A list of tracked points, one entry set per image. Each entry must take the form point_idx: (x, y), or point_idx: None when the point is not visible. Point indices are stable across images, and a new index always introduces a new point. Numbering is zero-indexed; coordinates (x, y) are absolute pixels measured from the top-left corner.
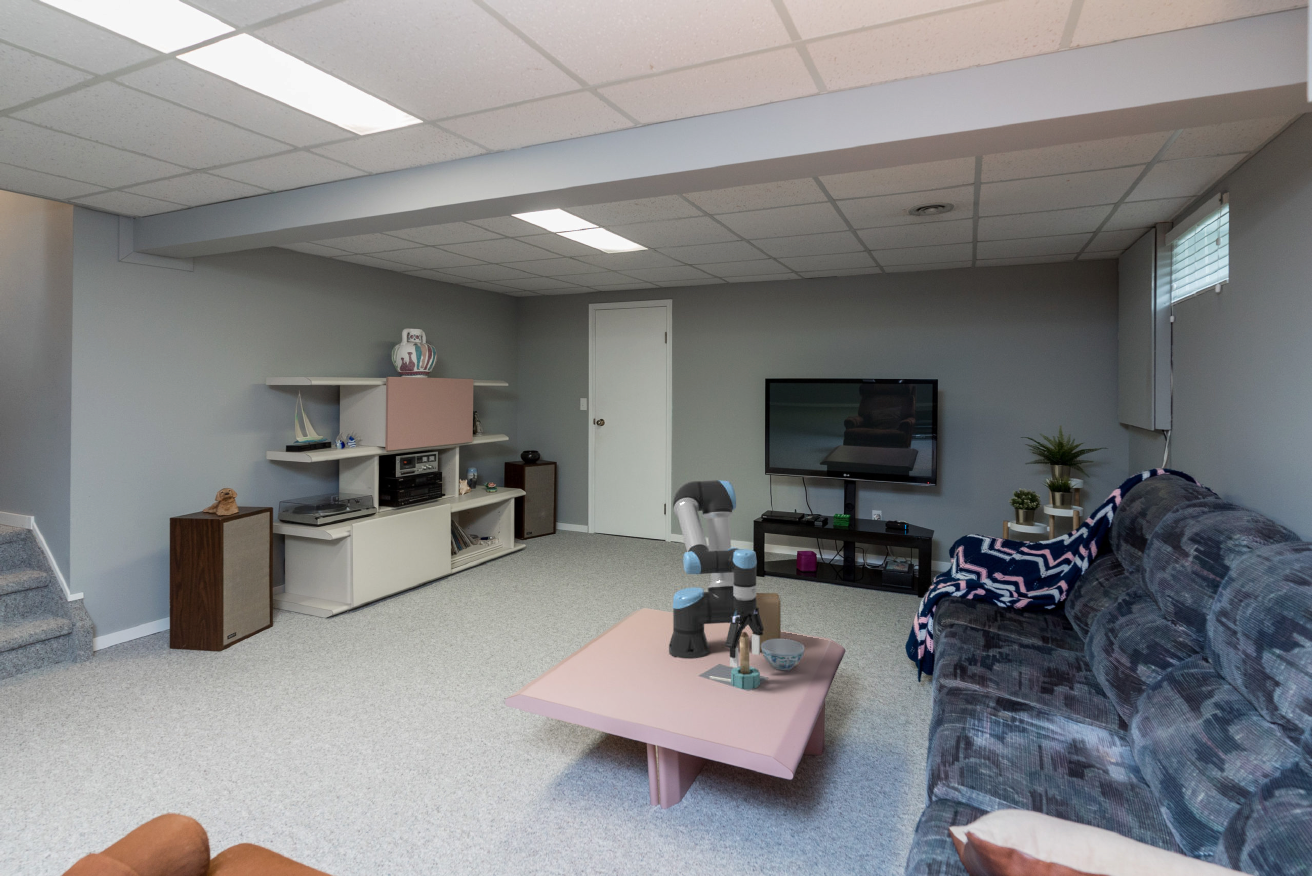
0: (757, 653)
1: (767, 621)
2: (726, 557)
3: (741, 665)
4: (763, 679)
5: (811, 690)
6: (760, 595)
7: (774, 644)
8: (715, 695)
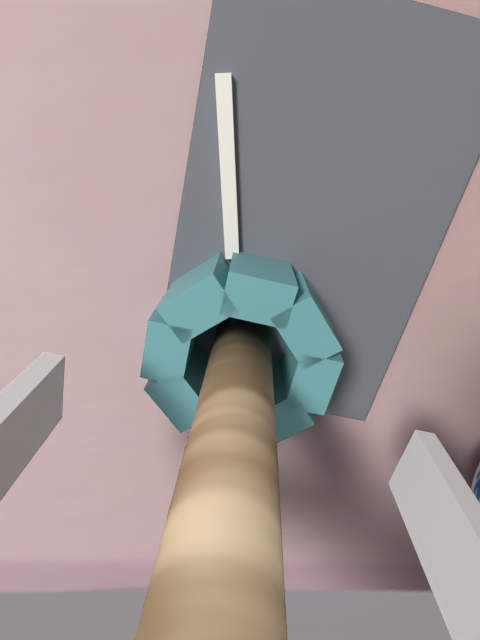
0: (397, 482)
1: None
2: None
3: (203, 381)
4: (332, 402)
5: (299, 576)
6: None
7: None
8: (12, 222)
